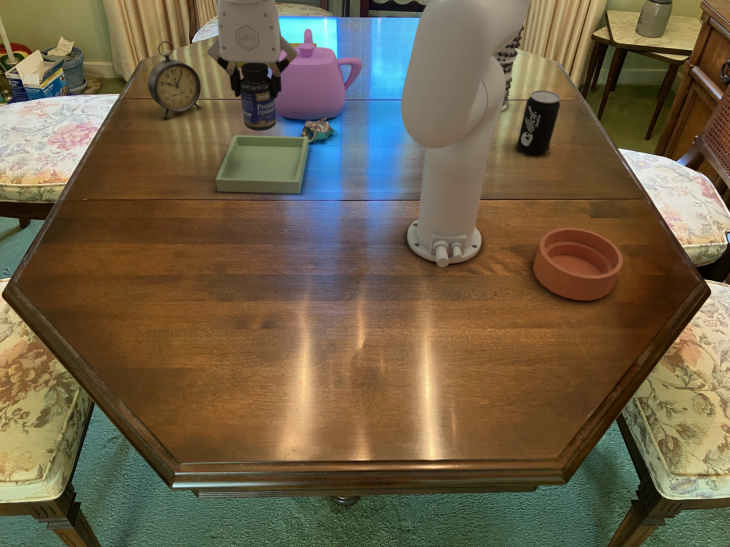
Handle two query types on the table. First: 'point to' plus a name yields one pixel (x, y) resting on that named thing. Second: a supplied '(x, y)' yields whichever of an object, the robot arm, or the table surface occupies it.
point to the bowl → (577, 263)
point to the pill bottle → (257, 97)
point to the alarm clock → (174, 84)
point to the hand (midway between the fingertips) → (257, 93)
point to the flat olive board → (282, 49)
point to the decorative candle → (508, 62)
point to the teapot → (314, 82)
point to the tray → (263, 164)
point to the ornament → (317, 130)
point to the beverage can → (538, 122)
